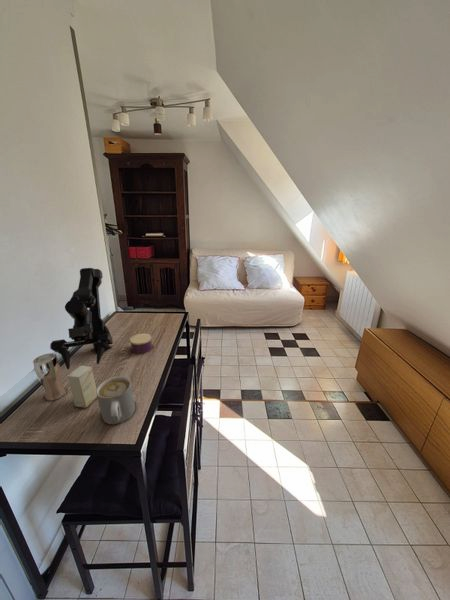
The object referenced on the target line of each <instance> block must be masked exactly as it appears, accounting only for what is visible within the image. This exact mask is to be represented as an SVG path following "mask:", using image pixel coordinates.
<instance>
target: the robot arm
mask: <svg viewBox="0 0 450 600" xmlns="http://www.w3.org/2000/svg"><path fill="white" fill-rule="evenodd" d="M102 279H103V272H102V270H100V269H99V268H93V267H82V268H80V270H79V282H78V288H77V289H75V291H74V292H73V293H72V296H71V297H70V299H69V300H68V301H67V302H66V303H65V305H64V310H65V312H66V313H67V314H68V315H69V316H70V317H71V319H73V326H72V328H68V338H69V339H71V341H67V340H65V339H64V338H63V339H56V340H51V341H52V342H50V345H49V348H50V350H52V351H53V352H55V353H57V354H59V355H61V357H62V359H63V362H64V364H65V367H66V369H67V370H70V368H71V367H70V366H71V353H70V348H73V347H79V346H86V345H92V346H93V348H91V349H90V351H91V352H94V353H96V364H97V365H100V362H101V359H102V357H103V354H104V352H106V351H108V350H110V349H111V348H112V346H111V345H113V344H114V342H113V337H112V335H111V332H110V330H109V328H108V326H107V325H106V323H105V321H104V320H103V319H102V316H101V303H100V291H99V288H100V286H101V285H102V282H103V281H102Z"/></svg>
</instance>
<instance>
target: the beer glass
mask: <svg viewBox="0 0 450 600" xmlns="http://www.w3.org/2000/svg"><path fill="white" fill-rule="evenodd" d="M32 364H33V368H34V372H35V373H34V374H35V375H36V378H37V380H38V381H39V383H40V385H41V386H42V388H43V390H44V399H45V400H47V401H55V400H57V399H60V398H62V397H63V396H64V395H65V394H66V392H67V391H66V388H65V387H64V385H63V381H62V368H61V364H60V362H59V359H58V356H57V354H56V353H53V352H50V353H49V352H48V353H44V354H41V355H39V356H37V357H35V358H34V359H33V360H32Z"/></svg>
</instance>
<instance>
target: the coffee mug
mask: <svg viewBox="0 0 450 600" xmlns="http://www.w3.org/2000/svg"><path fill="white" fill-rule="evenodd" d="M96 389H97V390H96V393H97V397H96V399H97V401H98V406H99V411H100V414H101V418H102V421H103V422H104V423H106V424H109V425H117V424H120V423H123V422H125V421H127V420H128V419H130V418H131V417H132V416H133V415H134V413H135V410H136V403H135V397H134V393H133V387H132V381H131V380H130V378H128V377H126V376H113V377H111V378H108V379H106V380H103V382H101V383H100V384H98V386H97V387H96Z"/></svg>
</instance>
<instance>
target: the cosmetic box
mask: <svg viewBox="0 0 450 600" xmlns="http://www.w3.org/2000/svg"><path fill="white" fill-rule="evenodd" d="M94 376H95V375H94V372H93V367H92V366H89V365H79V366H78V367H77V368H76V369H74V370H73V371H71V372H70V373H69V374H68V375H67V376H66V377H67V380H68V381H67V382H68V384H69V389H70V391H71V395H72V400H73V403H74V407H77V408H78V407H79V408H85V409H86V408H88V407H89V405H91V404H92V403H93V402H94V401H95V400H96V399H97V393H96V390H97V385H96V380H95V377H94Z"/></svg>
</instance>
